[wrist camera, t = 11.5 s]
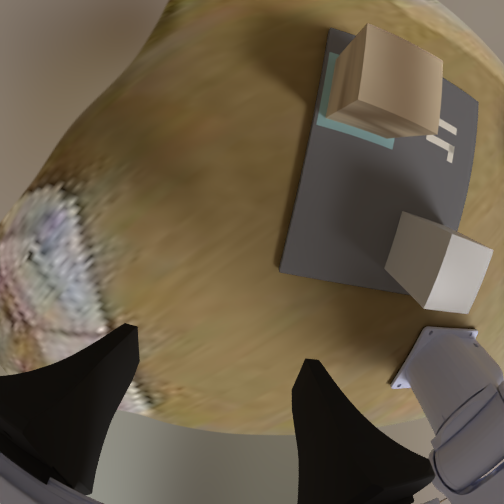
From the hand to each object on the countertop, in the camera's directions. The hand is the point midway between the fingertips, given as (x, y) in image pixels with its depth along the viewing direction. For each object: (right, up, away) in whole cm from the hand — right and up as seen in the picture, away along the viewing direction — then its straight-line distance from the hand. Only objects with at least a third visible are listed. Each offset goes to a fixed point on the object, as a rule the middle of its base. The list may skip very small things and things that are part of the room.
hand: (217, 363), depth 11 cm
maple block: (+9, +15, +4) cm, 18 cm away
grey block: (+14, +5, +7) cm, 16 cm away
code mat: (+12, +10, +6) cm, 17 cm away
